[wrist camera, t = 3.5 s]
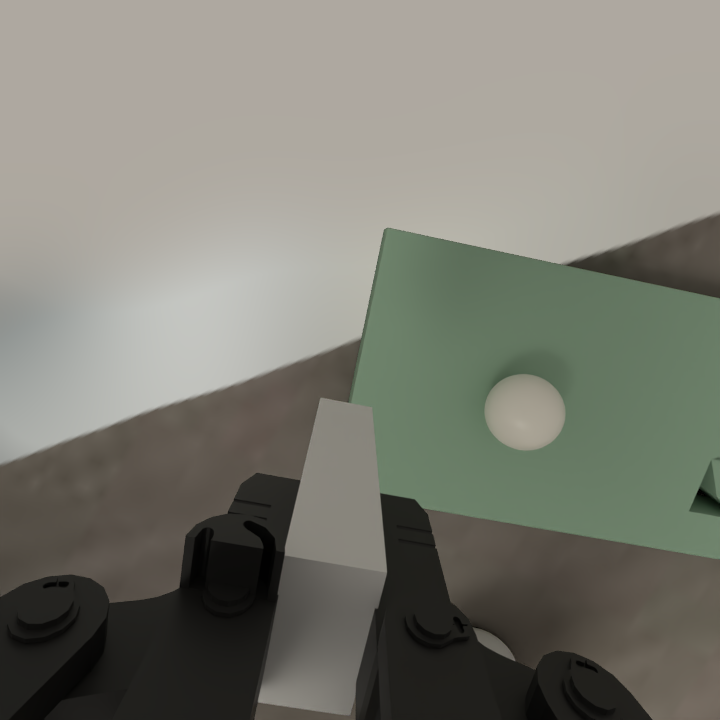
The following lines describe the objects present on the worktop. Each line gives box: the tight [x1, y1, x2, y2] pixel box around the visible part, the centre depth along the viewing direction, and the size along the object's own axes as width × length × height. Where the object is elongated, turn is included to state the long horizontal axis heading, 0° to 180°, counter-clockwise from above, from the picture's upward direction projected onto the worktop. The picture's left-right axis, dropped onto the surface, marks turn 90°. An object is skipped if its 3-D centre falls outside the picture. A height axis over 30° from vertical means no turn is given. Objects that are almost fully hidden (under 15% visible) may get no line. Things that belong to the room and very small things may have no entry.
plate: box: [348, 228, 720, 559], centre depth 25 cm, size 32×14×2 cm, turn 79°
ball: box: [484, 374, 565, 451], centre depth 21 cm, size 4×4×4 cm
